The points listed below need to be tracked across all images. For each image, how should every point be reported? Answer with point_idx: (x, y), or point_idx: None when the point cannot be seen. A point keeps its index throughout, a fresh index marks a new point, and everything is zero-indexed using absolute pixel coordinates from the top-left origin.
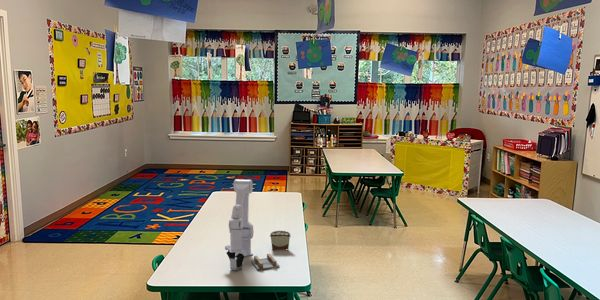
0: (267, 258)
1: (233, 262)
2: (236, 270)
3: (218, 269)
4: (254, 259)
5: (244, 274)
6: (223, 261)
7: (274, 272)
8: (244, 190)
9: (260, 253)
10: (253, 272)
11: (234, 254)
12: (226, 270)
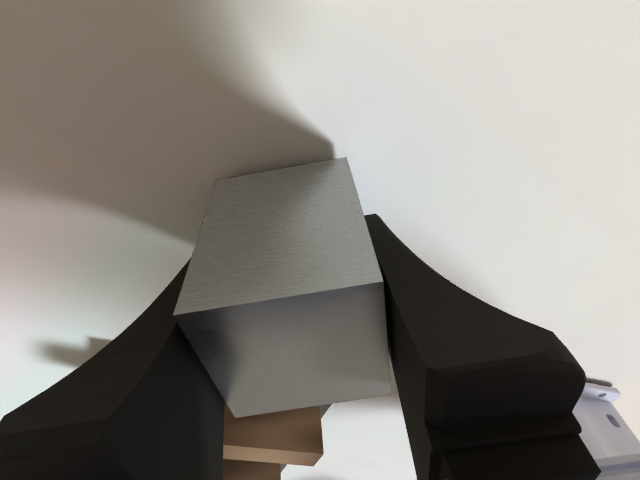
0: (270, 465)
1: (268, 247)
2: (214, 186)
3: (509, 4)
4: (308, 420)
5: (81, 210)
6: (605, 222)
7: (11, 407)
8: None
9: (409, 456)
10: (94, 303)
11: (404, 401)
12: (367, 93)
